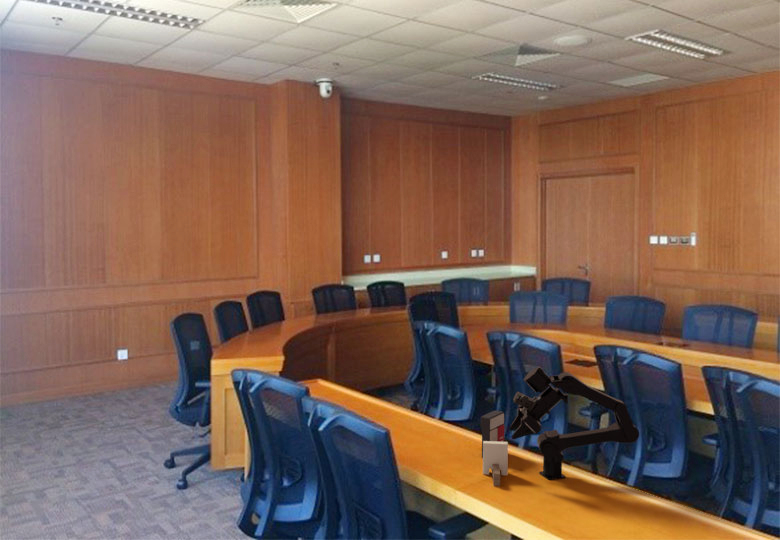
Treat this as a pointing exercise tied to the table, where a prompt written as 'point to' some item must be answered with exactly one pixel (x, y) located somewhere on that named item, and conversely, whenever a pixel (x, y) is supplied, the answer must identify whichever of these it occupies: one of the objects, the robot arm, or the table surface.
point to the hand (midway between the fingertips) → (511, 433)
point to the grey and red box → (492, 427)
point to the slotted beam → (496, 474)
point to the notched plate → (495, 456)
